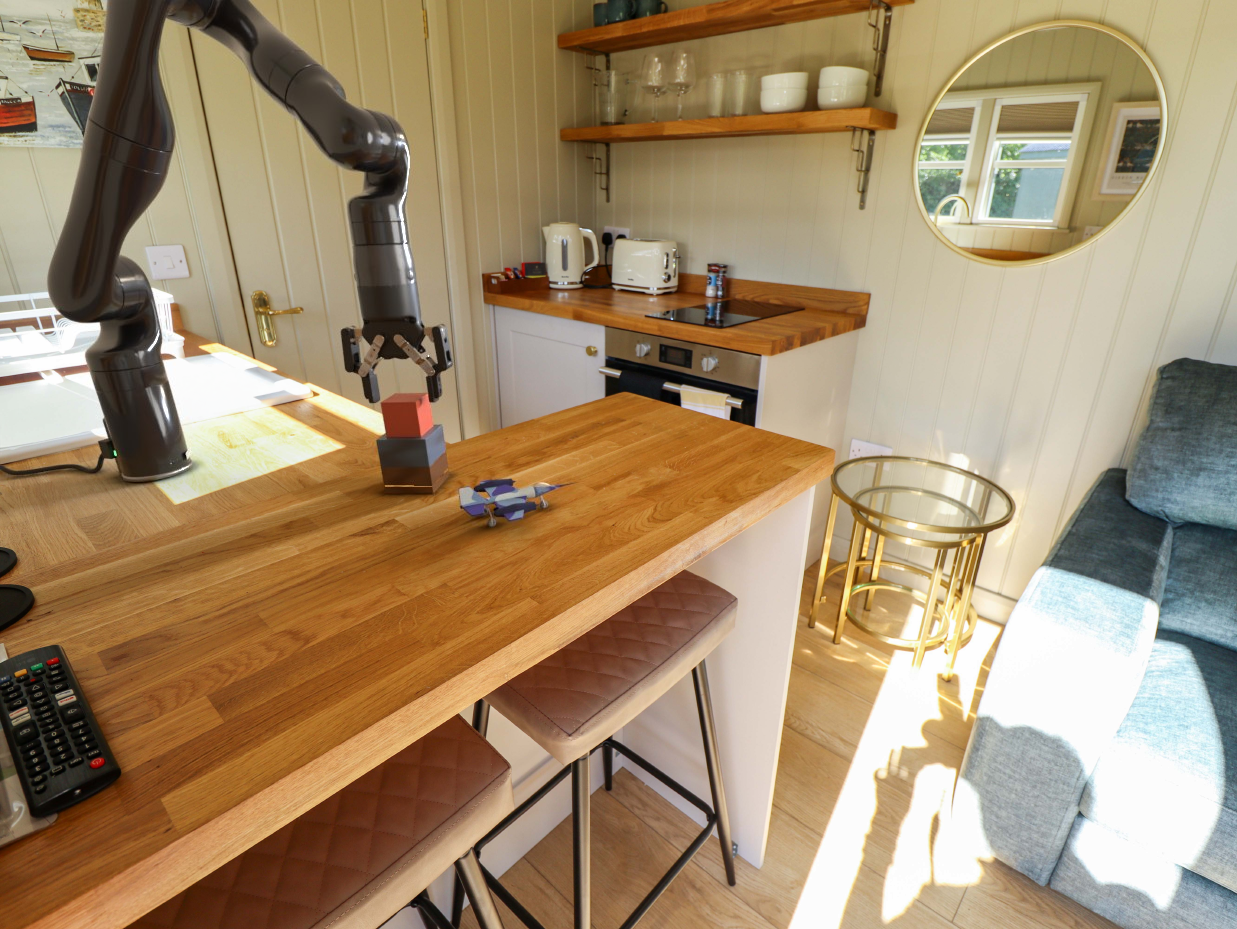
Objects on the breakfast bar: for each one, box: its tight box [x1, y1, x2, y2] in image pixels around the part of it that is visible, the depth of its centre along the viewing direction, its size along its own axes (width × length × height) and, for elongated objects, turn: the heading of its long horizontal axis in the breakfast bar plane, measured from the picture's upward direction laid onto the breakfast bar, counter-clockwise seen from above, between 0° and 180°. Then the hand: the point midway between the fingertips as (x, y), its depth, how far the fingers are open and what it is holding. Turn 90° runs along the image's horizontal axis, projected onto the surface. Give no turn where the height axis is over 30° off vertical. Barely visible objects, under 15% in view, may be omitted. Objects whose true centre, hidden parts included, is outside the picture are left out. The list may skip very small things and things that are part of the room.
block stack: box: [375, 423, 450, 495], centre depth 94 cm, size 7×7×8 cm
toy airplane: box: [458, 477, 582, 528], centre depth 84 cm, size 13×14×4 cm
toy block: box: [380, 392, 434, 437], centre depth 92 cm, size 5×5×5 cm
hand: (404, 401), depth 91 cm, fingers open, 8 cm apart
